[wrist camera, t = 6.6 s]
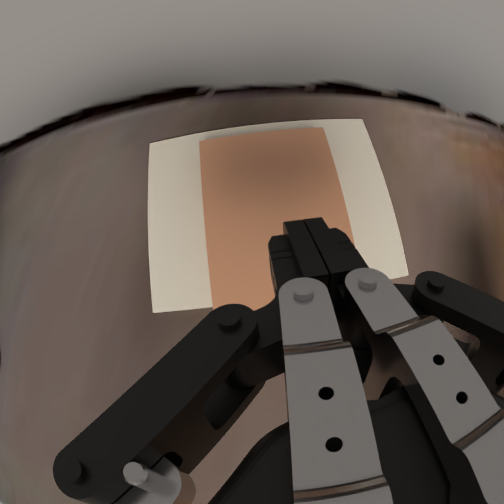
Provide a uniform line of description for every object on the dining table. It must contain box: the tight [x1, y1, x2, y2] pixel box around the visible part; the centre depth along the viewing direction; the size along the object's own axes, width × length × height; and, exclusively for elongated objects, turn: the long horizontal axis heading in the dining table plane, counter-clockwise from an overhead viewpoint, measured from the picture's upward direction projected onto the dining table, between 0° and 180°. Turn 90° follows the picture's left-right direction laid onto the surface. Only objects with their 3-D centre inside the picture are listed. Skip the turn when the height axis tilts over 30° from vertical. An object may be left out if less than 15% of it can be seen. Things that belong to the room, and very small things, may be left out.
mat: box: [148, 119, 408, 313], centre depth 22 cm, size 20×15×1 cm
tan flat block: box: [199, 127, 355, 311], centre depth 20 cm, size 10×2×14 cm
